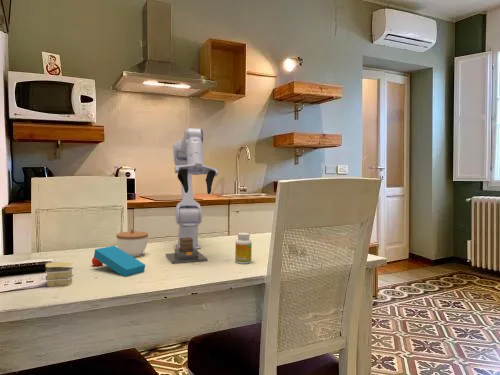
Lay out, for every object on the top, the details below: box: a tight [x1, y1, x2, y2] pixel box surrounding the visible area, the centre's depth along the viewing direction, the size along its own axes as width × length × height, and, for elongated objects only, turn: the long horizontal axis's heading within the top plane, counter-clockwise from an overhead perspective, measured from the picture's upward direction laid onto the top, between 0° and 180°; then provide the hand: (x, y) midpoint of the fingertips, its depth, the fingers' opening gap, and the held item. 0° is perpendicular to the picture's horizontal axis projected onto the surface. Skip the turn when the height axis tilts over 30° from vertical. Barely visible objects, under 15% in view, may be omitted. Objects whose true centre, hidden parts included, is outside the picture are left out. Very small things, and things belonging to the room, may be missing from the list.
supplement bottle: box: [234, 232, 253, 265], centre depth 135 cm, size 5×5×10 cm
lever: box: [91, 245, 146, 278], centre depth 124 cm, size 7×7×19 cm
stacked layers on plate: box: [45, 261, 74, 287], centre depth 108 cm, size 10×9×6 cm
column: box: [180, 237, 193, 252], centre depth 139 cm, size 4×4×7 cm
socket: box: [165, 247, 209, 265], centre depth 139 cm, size 12×12×3 cm
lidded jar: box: [116, 228, 149, 258], centre depth 143 cm, size 11×11×9 cm
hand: (198, 192), depth 132 cm, fingers open, 7 cm apart
